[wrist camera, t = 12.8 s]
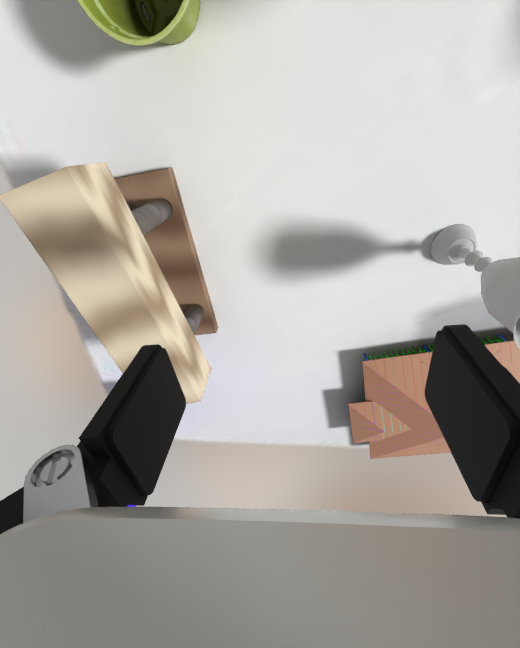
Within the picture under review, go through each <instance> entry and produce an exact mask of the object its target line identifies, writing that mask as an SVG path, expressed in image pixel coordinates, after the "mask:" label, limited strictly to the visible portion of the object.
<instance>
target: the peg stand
mask: <svg viewBox="0 0 520 648" xmlns="http://www.w3.org/2000/svg"><path fill="white" fill-rule="evenodd" d="M115 181H116V183H117V185H118V187H119V189H120V191H121V193H122V195H123V197H124V199H125V201H126V203H127V205H128V207H129V209H130V211H131V213H132V215H133V216H134V218H135V220H136V222H137V224H138V226H139V228H140V230H141V232H142V234H143V236H144V238H145V240H146V242H147V244H148V246H149V248H150V250H151V252H152V254H153V256H154V258H155V260H156V262H157V264H158V265H159V267H160V269H161V271H162V273H163V275H164V277H165V279H166V281H167V283H168V285H169V287H170V289H171V291H172V293H173V295H174V297H175V299H176V301H177V303H178V305H179V307H180V309H181V311H182V313H183V314H184V316H185V318H186V320H187V322H188V324H189V326H190V328H191V330H192V332H193V334H194V335H201V334H211V333H216V332H217V329H218V325H217V322H216V318H215V315H214V312H213V308H212V305H211V301H210V298H209V294H208V291H207V287H206V284H205V280H204V277H203V273H202V270H201V266H200V263H199V259H198V256H197V252H196V249H195V245H194V242H193V238H192V235H191V231H190V228H189V224H188V221H187V217H186V214H185V210H184V207H183V203H182V200H181V196H180V193H179V189H178V186H177V182H176V179H175V176H174V172H173V169H172V168H167V169H162V170H157V171H152V172H147V173H142V174H137V175H132V176H127V177H122V178H117V179H115Z"/></svg>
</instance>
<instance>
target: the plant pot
mask: <svg viewBox="0 0 520 648" xmlns="http://www.w3.org/2000/svg"><path fill="white" fill-rule="evenodd" d="M77 1H78V3H79V4H80V6H81V7H82V9H83V10H84V11H85V13H86V14H87V15H88V17H89V18H90V19H91V20H92V21H93V23H94V24H95V25H96V26H98V27H99V28H100V29H101V30H102V31H103V32H105V33H106V34H107V35H109V36H110V37H112V38H114V39H116V40H117V41H120V42H122V43H125V44H129V45H134V46H146V45H151V44H154V43H157V42H160V43H164V44H170V45H172V44H178V43H181V42H183V41H184V40H186V39H187V38H188V37H189V36H190V35H191V33H192V32H193V30H194V28H195V26H196V23H197V19H198V15H199V9H200V0H168V1H167V2H165V1H164V0H77ZM141 2H143V3H144V6H145V9H146V12H147V14H148V17H149V18H150V22H149V21H147V20H146V18H145V15H144V13H143V12H142V9H141Z"/></svg>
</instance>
